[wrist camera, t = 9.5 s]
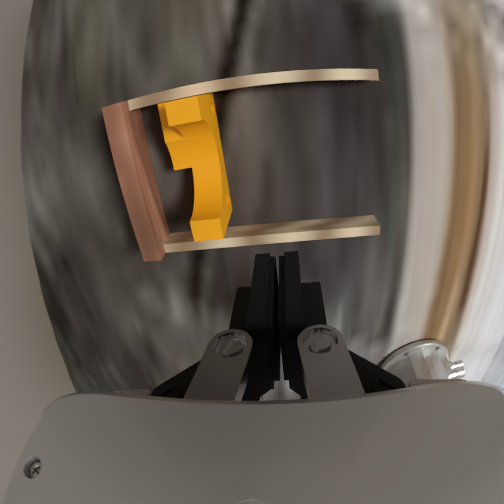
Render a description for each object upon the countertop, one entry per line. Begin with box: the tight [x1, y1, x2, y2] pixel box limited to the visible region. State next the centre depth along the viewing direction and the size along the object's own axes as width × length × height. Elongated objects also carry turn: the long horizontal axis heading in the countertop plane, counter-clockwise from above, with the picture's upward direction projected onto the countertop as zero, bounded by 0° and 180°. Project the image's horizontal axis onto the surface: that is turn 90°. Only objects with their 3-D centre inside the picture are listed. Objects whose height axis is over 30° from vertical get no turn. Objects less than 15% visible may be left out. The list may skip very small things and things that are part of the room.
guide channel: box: [102, 69, 380, 262], centre depth 27 cm, size 24×16×4 cm, turn 98°
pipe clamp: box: [158, 93, 232, 242], centre depth 26 cm, size 12×4×6 cm, turn 8°
